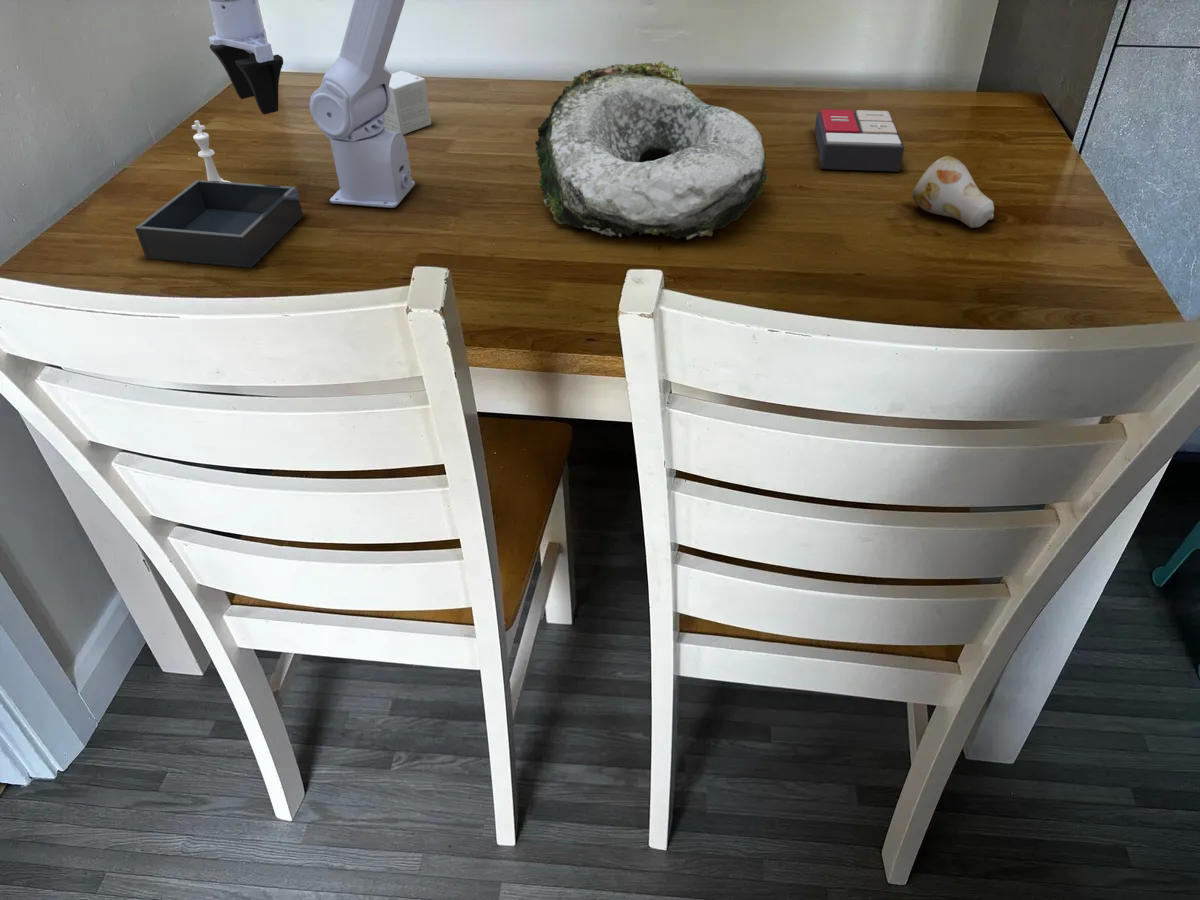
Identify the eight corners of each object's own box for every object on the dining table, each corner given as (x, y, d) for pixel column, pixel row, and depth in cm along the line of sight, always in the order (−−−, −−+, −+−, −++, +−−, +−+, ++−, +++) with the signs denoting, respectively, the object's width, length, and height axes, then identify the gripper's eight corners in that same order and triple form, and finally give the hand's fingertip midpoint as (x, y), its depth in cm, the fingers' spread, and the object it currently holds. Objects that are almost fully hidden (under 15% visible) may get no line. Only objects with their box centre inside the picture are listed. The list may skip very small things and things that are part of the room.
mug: (975, 243, 112) (950, 168, 108) (918, 245, 120) (893, 176, 117) (1016, 213, 114) (992, 138, 110) (957, 217, 122) (933, 148, 119)
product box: (409, 116, 148) (402, 69, 143) (432, 125, 144) (426, 78, 139) (378, 126, 144) (370, 79, 139) (401, 136, 141) (393, 88, 136)
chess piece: (225, 201, 124) (203, 128, 117) (192, 198, 125) (169, 126, 118) (243, 186, 127) (223, 115, 121) (211, 184, 128) (189, 113, 122)
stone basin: (641, 88, 134) (665, -2, 121) (781, 221, 127) (823, 140, 114) (484, 164, 122) (493, 73, 108) (629, 316, 114) (657, 238, 101)
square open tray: (303, 216, 120) (296, 186, 117) (251, 268, 109) (242, 237, 107) (206, 208, 122) (196, 179, 120) (146, 258, 112) (134, 227, 109)
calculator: (891, 108, 137) (906, 141, 125) (886, 137, 139) (900, 172, 127) (817, 106, 138) (824, 139, 126) (813, 134, 140) (820, 169, 128)
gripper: (179, -11, 117) (210, 96, 125) (221, 13, 108) (251, 126, 117) (232, -20, 120) (259, 85, 129) (277, 3, 111) (302, 113, 120)
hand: (258, 104), depth 123 cm, fingers open, 7 cm apart
